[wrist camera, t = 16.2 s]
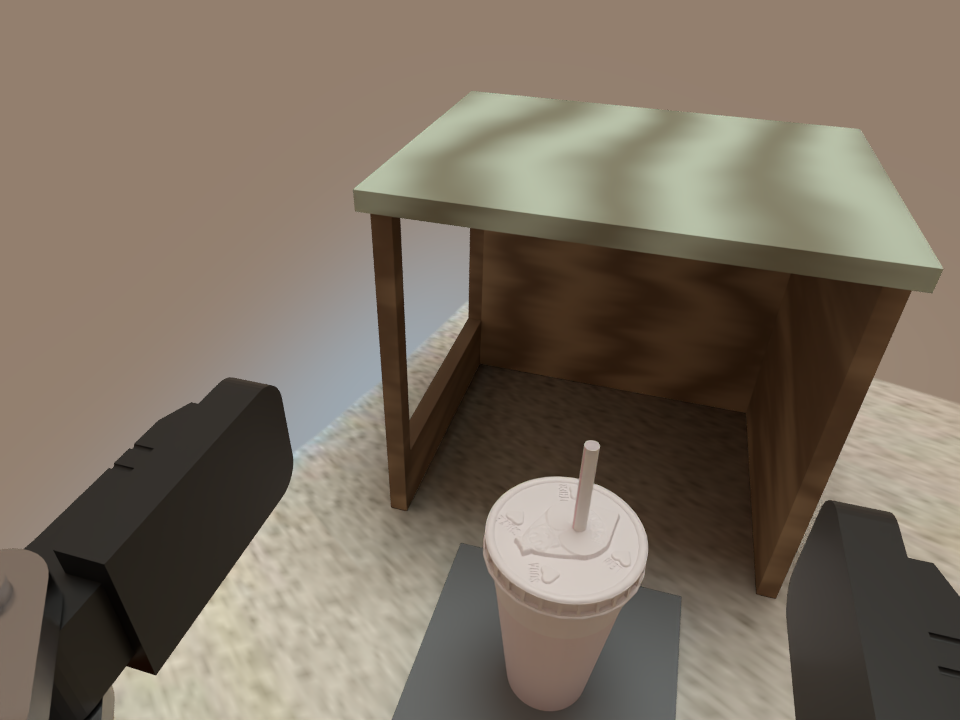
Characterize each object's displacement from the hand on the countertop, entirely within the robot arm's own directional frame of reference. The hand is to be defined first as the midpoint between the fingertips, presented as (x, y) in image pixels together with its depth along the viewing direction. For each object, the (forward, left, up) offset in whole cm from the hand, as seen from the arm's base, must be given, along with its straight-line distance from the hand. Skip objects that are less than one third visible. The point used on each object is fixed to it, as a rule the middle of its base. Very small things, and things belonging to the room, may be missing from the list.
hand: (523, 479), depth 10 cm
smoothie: (0, -11, -23) cm, 26 cm away
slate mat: (0, -11, -24) cm, 26 cm away
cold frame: (0, -27, -24) cm, 36 cm away
